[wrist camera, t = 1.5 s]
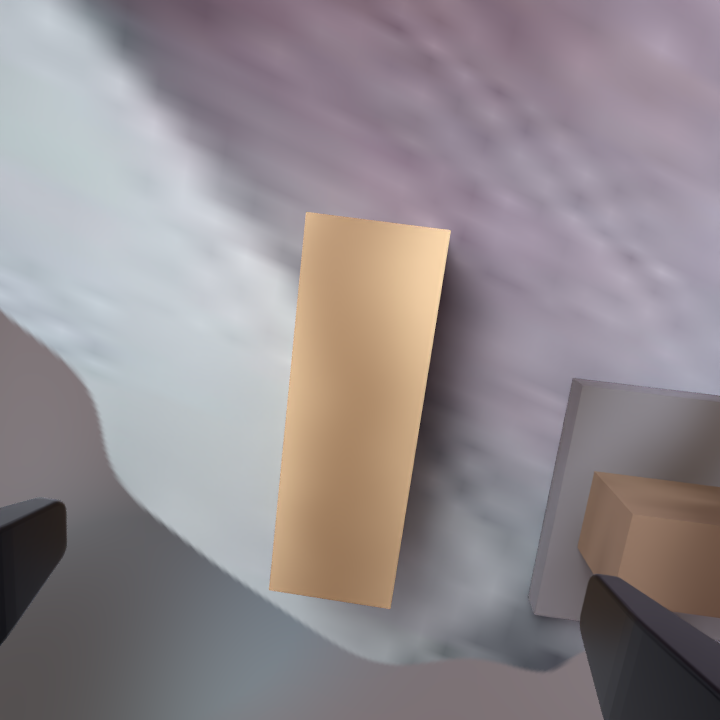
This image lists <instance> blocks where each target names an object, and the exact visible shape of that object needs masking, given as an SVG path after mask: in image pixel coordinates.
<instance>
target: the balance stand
mask: <svg viewBox="0 0 720 720" xmlns="http://www.w3.org/2000/svg"><path fill="white" fill-rule="evenodd" d="M593 574H604V575H611V576H617V577H619V578H621V579H623V580H624V581H626V582H627V583H629V584H630V585H632V586H633V587H635V588H636V589H638V590H639V591H641V592H642V593H644V594H645V595H647V596H648V597H650V598H651V599H653V600H654V601H656V602H657V603H659V604H660V605H662V606H663V607H665V608H667V609H668V610H670V611H671V612H673V613H674V614H676V615H677V616H679V617H680V618H682V619H683V620H685V621H686V622H688V623H689V624H691V625H692V626H694V627H695V628H697V629H698V630H700V631H701V632H703V633H704V634H706V635H707V636H709V637H710V638H712V639H713V640H718V641H720V396H717V395H709V394H701V393H692V392H684V391H676V390H667V389H659V388H651V387H642V386H634V385H626V384H617V383H609V382H601V381H592V380H584V379H576V378H573V380H572V385H571V390H570V395H569V400H568V405H567V409H566V414H565V419H564V424H563V429H562V434H561V439H560V444H559V448H558V453H557V458H556V463H555V468H554V473H553V478H552V482H551V487H550V492H549V497H548V502H547V507H546V512H545V517H544V521H543V526H542V531H541V536H540V541H539V546H538V551H537V555H536V560H535V565H534V570H533V575H532V580H531V585H530V590H529V594H528V599H529V601H530V604H531V607H532V609H533V612H534V615H540V616H547V617H554V618H561V619H568V620H575V621H580V614H581V610H582V606H583V601H584V597H585V593H586V588H587V584H588V581H589V579H590V577H591V576H592V575H593Z"/></svg>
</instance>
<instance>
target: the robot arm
mask: <svg viewBox="0 0 720 720" xmlns="http://www.w3.org/2000/svg"><path fill="white" fill-rule="evenodd" d="M66 547H67V512H66V506H65V504H64V503H63V501H61V500H57V499H50V498H42V497H39V498H35V499H31V500H27V501H23V502H20V503H16V504H12V505H9V506H5V507H1V508H0V646H1V644H2V643H3V642H4V641H5V639H6V638H7V637H8V635H9V634H10V633H11V631H12V630H13V628H14V627H15V626H16V624H17V623H18V621H19V620H20V619H21V617H22V616H23V614H24V613H25V611H26V610H27V609H28V607H29V606H30V604H31V603H32V601H33V600H34V598H35V597H36V596H37V594H38V593H39V591H40V590H41V588H42V587H43V585H44V584H45V583H46V581H47V580H48V578H49V577H50V575H51V574H52V572H53V571H54V569H55V568H56V566H57V565H58V564H59V562H60V561H61V559H62V558H63V556H64V553H65V551H66ZM580 631H581V635H582V639H583V643H584V647H585V651H586V654H587V658H588V662H589V666H590V669H591V673H592V677H593V681H594V685H595V689H596V692H597V696H598V700H599V704H600V707H601V711H602V715H603V718H604V720H720V644H719V643H718V642H716V641H715V640H713V639H712V638H710V637H709V636H707V635H706V634H704V633H703V632H701V631H700V630H698V629H697V628H695V627H694V626H692V625H691V624H689V623H688V622H686V621H685V620H683V619H682V618H680V617H679V616H677V615H676V614H674V613H673V612H671V611H670V610H668V609H667V608H665V607H663V606H662V605H660V604H659V603H657V602H656V601H654V600H653V599H651V598H650V597H648V596H647V595H645V594H644V593H642V592H641V591H639V590H638V589H636V588H635V587H633V586H632V585H630V584H629V583H627V582H626V581H624V580H623V579H621V578H619V577H617V576H611V575H604V574H593V575H592V576H591V577H590V579H589V581H588V584H587V588H586V593H585V597H584V601H583V606H582V610H581V614H580Z"/></svg>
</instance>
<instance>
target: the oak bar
mask: <svg viewBox="0 0 720 720" xmlns="http://www.w3.org/2000/svg"><path fill="white" fill-rule="evenodd" d="M450 232H451V230H444V229H436V228H428V227H420V226H413V225H405V224H397V223H389V222H381V221H373V220H365V219H357V218H349V217H342V216H334V215H326V214H318V213H310V212H306V219H305V229H304V239H303V249H302V260H301V270H300V280H299V290H298V300H297V311H296V321H295V331H294V341H293V351H292V361H291V372H290V382H289V392H288V402H287V412H286V423H285V433H284V443H283V453H282V463H281V473H280V484H279V494H278V504H277V514H276V524H275V535H274V545H273V555H272V565H271V575H270V585H269V590H272V591H278V592H284V593H291V594H297V595H304V596H310V597H316V598H323V599H329V600H336V601H342V602H348V603H355V604H361V605H367V606H374V607H380V608H387V609H390V608H391V602H392V596H393V589H394V583H395V577H396V570H397V564H398V558H399V552H400V545H401V539H402V533H403V527H404V520H405V514H406V508H407V502H408V495H409V489H410V483H411V477H412V470H413V464H414V458H415V452H416V445H417V439H418V433H419V426H420V420H421V414H422V408H423V401H424V395H425V389H426V383H427V376H428V370H429V364H430V358H431V351H432V345H433V339H434V333H435V326H436V320H437V314H438V308H439V301H440V295H441V289H442V282H443V276H444V270H445V264H446V257H447V251H448V245H449V239H450Z"/></svg>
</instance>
